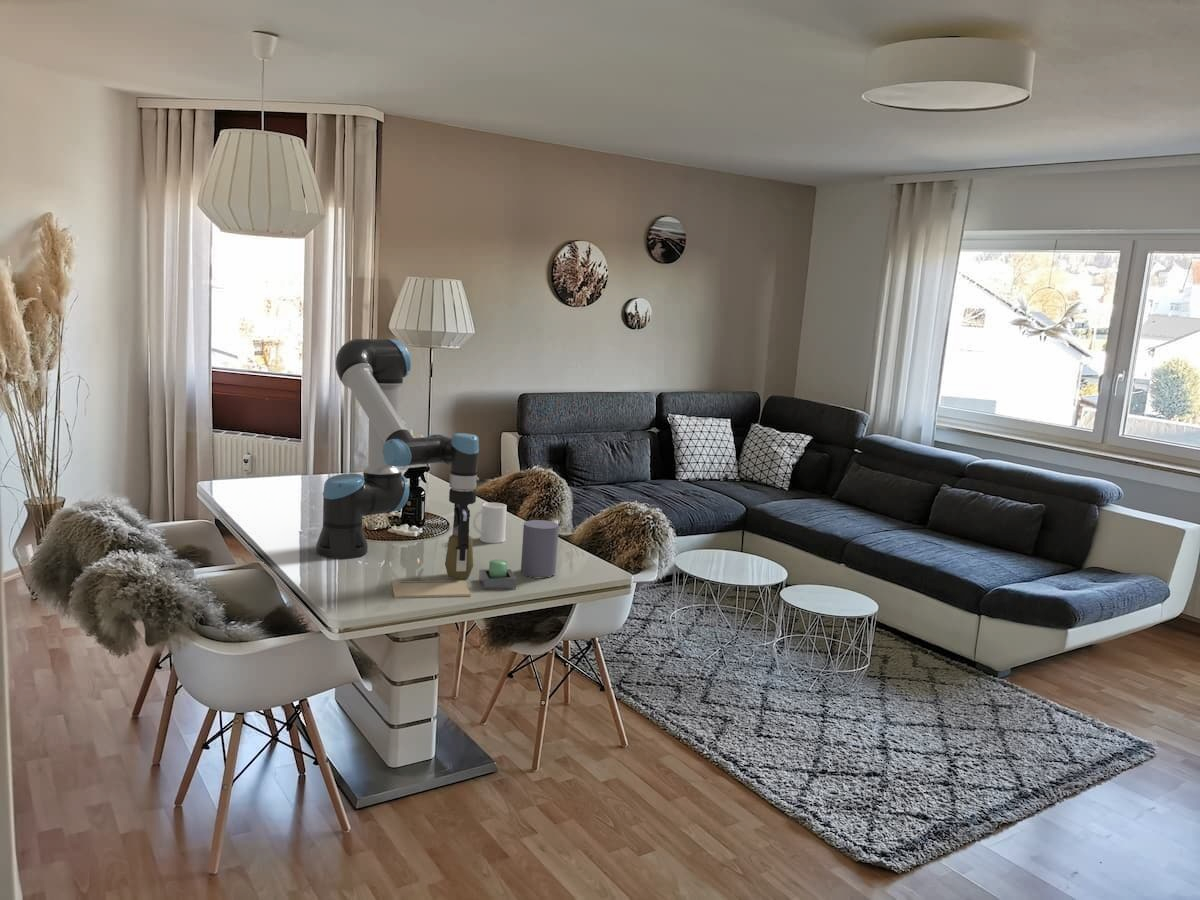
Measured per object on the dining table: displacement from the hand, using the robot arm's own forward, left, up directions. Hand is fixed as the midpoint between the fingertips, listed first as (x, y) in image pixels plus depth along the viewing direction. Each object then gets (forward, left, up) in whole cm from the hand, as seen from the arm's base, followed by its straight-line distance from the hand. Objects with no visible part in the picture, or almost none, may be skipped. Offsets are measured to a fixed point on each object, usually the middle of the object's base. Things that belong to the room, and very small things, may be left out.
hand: (459, 566), depth 260 cm
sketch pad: (-9, -11, -3) cm, 15 cm away
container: (+24, +3, -4) cm, 24 cm away
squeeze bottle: (0, 0, -3) cm, 3 cm away
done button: (+10, -7, -2) cm, 12 cm away
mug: (+15, +40, -4) cm, 43 cm away
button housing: (+10, -7, -3) cm, 13 cm away
